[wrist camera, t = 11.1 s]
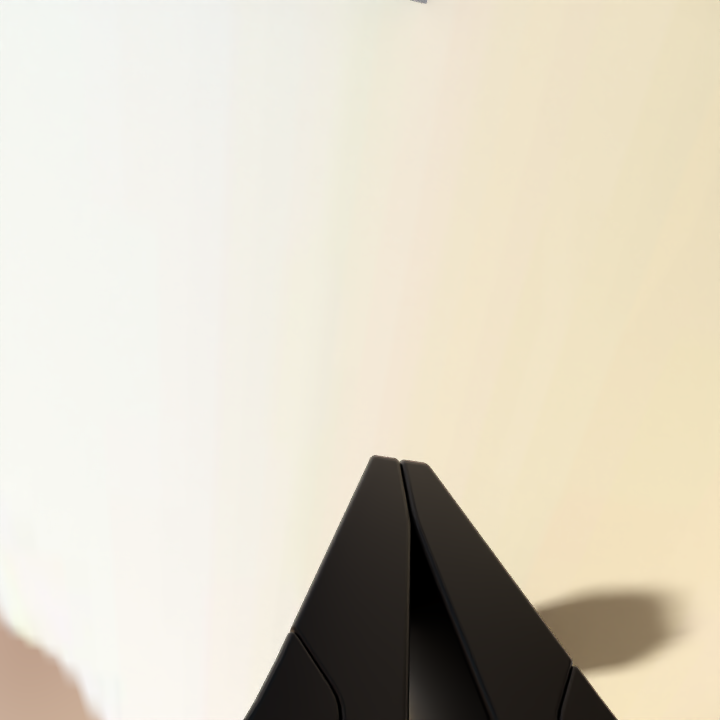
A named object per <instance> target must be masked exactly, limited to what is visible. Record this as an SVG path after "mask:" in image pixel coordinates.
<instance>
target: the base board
mask: <svg viewBox="0 0 720 720" xmlns="http://www.w3.org/2000/svg"><path fill="white" fill-rule="evenodd" d="M412 1H416V2H420V3H425V4H426V3H427V0H412Z"/></svg>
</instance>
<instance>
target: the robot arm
mask: <svg viewBox="0 0 720 720" xmlns="http://www.w3.org/2000/svg"><path fill="white" fill-rule="evenodd" d="M572 664H573V661H572V659H571V657H570V656H569V655H568V653H567V652H566V650H565V649H564V648H563V646H562V645H561V644H560V642H559V641H558V640H557V638H556V637H555V636H554V634H553V633H552V631H551V630H550V629H549V627H548V626H547V625H546V623H545V622H544V621H543V619H542V618H541V617H540V615H539V614H538V612H537V611H536V610H535V608H534V607H533V606H532V604H531V603H530V602H529V600H528V599H527V598H526V596H525V595H524V593H523V592H522V591H521V589H520V588H519V587H518V585H517V584H516V583H515V581H514V580H513V579H512V577H511V576H510V574H509V573H508V572H507V570H506V569H505V568H504V566H503V565H502V564H501V562H500V561H499V560H498V558H497V557H496V556H495V554H494V553H493V551H492V550H491V549H490V547H489V546H488V545H487V543H486V542H485V541H484V539H483V538H482V537H481V535H480V534H479V532H478V531H477V530H476V528H475V527H474V526H473V524H472V523H471V522H470V520H469V519H468V518H467V516H466V515H465V513H464V512H463V511H462V509H461V508H460V507H459V505H458V504H457V503H456V501H455V500H454V499H453V497H452V496H451V494H450V493H449V492H448V490H447V489H446V488H445V486H444V485H443V484H442V482H441V481H440V480H439V478H438V477H437V475H436V474H435V473H434V471H433V470H432V469H431V467H430V466H429V465H427V464H426V463H423V462H416V461H410V460H402V461H400V462H399V461H398V460H397V459H396V458H391V457H384V456H378V455H374V456H372V457H371V458H370V460H369V462H368V464H367V466H366V468H365V471H364V473H363V475H362V477H361V479H360V481H359V483H358V486H357V488H356V490H355V492H354V494H353V496H352V498H351V501H350V503H349V505H348V507H347V509H346V511H345V513H344V516H343V518H342V520H341V522H340V524H339V526H338V528H337V531H336V533H335V535H334V537H333V539H332V541H331V543H330V546H329V548H328V550H327V552H326V554H325V556H324V558H323V561H322V563H321V565H320V567H319V569H318V571H317V573H316V575H315V578H314V580H313V582H312V584H311V586H310V588H309V590H308V593H307V595H306V597H305V599H304V601H303V603H302V605H301V608H300V610H299V612H298V614H297V616H296V618H295V620H294V623H293V625H292V627H291V630H290V633H288V635H287V637H286V639H285V641H284V643H283V645H282V647H281V650H280V652H279V654H278V656H277V658H276V660H275V662H274V664H273V666H272V668H271V670H270V672H269V674H268V676H267V678H266V680H265V682H264V684H263V686H262V688H261V690H260V692H259V693H258V695H257V697H256V699H255V701H254V703H253V705H252V706H251V708H250V710H249V711H248V713H247V715H246V716H245V718H244V720H618V719H617V718H616V717H615V716H614V714H613V713H612V712H611V710H610V709H609V708H608V706H607V705H606V704H605V703H604V701H603V700H602V699H601V697H600V696H599V695H598V693H597V692H596V691H595V689H594V688H593V687H592V685H591V684H590V683H589V681H588V680H587V679H586V677H585V676H584V674H583V673H582V672H581V670H580V669H579V668H578V667H577V666H572Z"/></svg>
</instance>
